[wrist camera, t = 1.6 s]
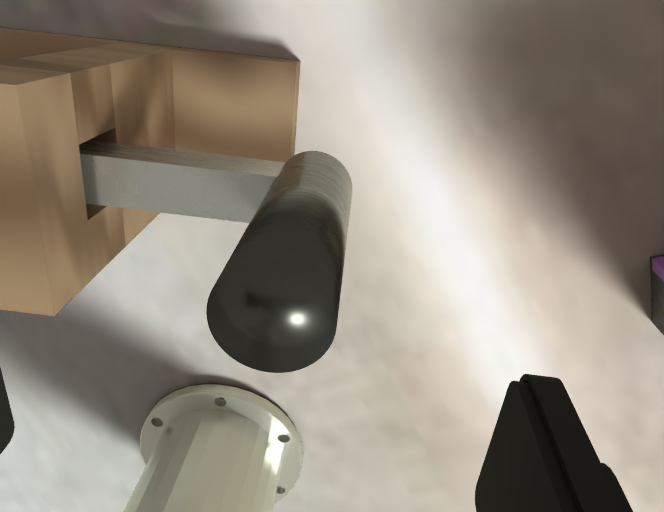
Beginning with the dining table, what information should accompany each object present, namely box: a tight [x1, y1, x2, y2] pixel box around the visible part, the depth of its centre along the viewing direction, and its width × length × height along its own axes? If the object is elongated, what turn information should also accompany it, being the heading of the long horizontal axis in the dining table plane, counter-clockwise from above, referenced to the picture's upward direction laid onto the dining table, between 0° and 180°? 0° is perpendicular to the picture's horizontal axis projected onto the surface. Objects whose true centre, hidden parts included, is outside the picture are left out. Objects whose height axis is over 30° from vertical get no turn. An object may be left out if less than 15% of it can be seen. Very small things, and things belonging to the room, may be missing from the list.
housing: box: [0, 27, 300, 316], centre depth 23 cm, size 8×21×14 cm, turn 84°
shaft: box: [79, 140, 352, 373], centre depth 17 cm, size 3×22×10 cm, turn 84°
